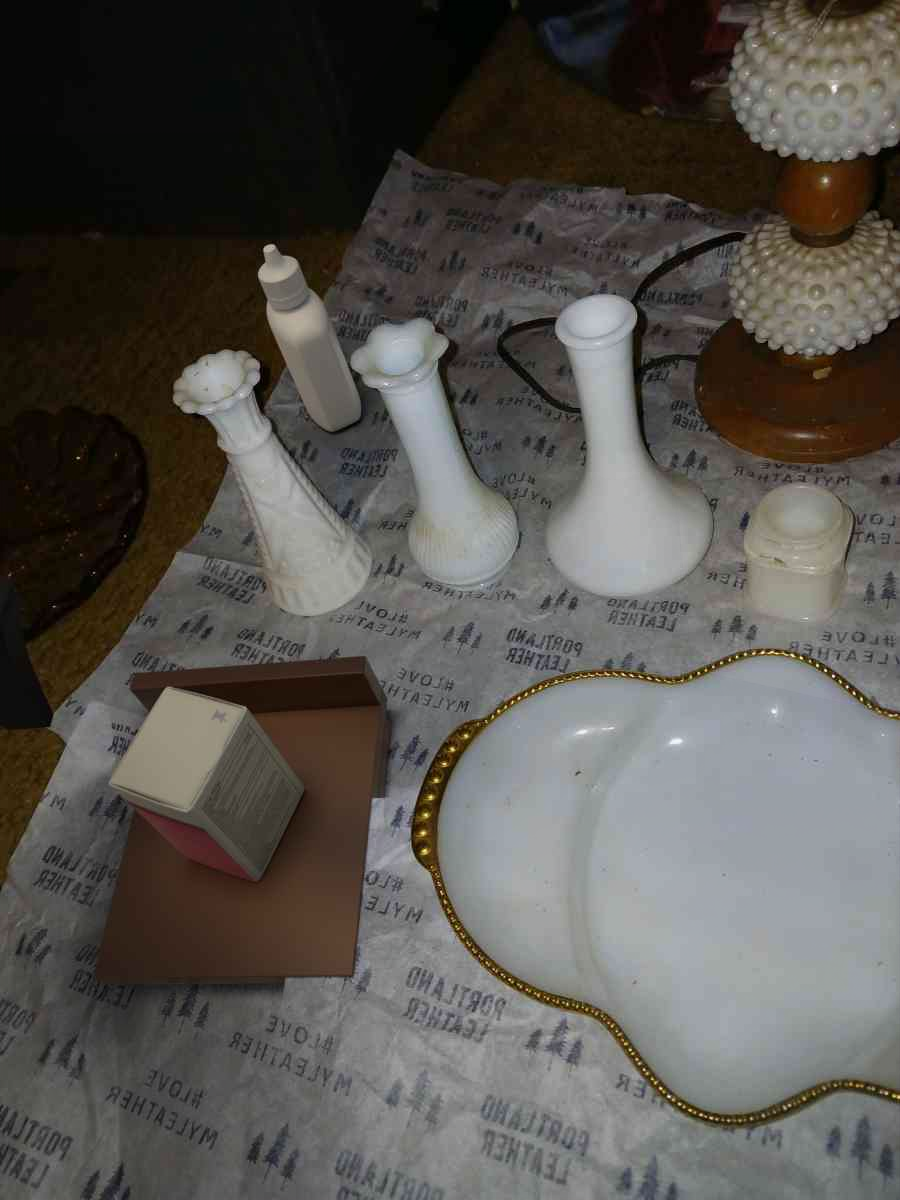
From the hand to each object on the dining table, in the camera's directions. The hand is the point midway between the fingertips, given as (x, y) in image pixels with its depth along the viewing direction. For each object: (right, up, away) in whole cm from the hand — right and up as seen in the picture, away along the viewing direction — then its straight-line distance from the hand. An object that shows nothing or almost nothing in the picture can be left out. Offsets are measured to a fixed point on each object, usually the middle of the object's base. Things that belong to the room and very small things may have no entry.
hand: (5, 804), depth 43 cm
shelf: (+9, -3, +8) cm, 13 cm away
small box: (+9, -2, +7) cm, 11 cm away
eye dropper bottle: (+11, +21, +26) cm, 35 cm away
